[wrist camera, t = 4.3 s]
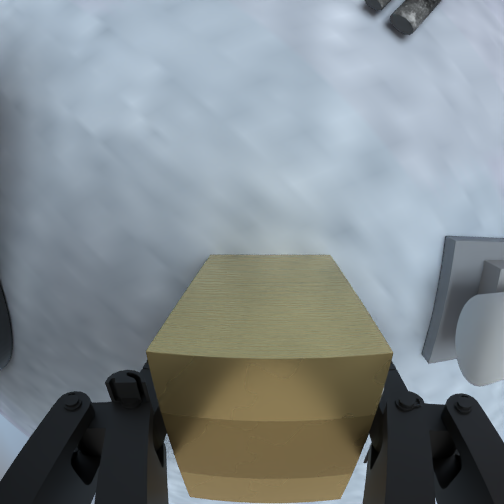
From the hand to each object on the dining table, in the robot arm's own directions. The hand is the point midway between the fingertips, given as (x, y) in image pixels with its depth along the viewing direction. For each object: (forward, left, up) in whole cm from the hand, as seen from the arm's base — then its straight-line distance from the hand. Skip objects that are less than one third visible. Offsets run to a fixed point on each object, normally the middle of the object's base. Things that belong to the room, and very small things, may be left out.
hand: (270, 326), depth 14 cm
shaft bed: (+19, +1, 0) cm, 19 cm away
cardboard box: (0, 0, 0) cm, 0 cm away
